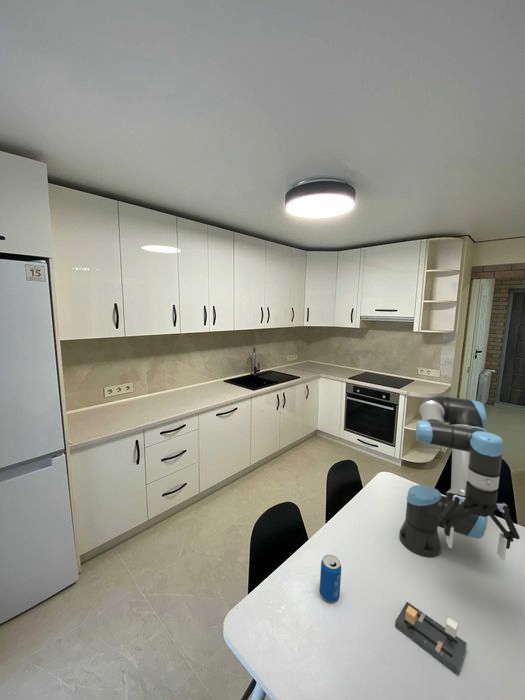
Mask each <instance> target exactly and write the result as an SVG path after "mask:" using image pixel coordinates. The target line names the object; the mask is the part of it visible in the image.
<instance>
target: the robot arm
mask: <svg viewBox="0 0 525 700" xmlns="http://www.w3.org/2000/svg"><path fill="white" fill-rule="evenodd" d="M418 408H419V415H420V416H421V419H420V420H418V421H416V430H415V440H416V441H417V442H418V443H419V442H420V443H425V444H426V445H432V446H438V447H444V448H448V449H452V452H451V475H450V476H451V477H450V479H451V480H450V481H451V483H450V489H448V491H446V495H445V496H444V495H442V494H441V492H440V490H438V489H437V488H435V487H433V486H430V485H425V484H417V485H412V486H411V487H410V488H409V489H408V491H407V496H406V507H405V508H406V509H405V520H404V522H403V523H402V525H401V527H400V529H399V536H398V537H399V540H400V542H401V544H402V545H403V546H404V547H405V548H406V549H407V550H409V551H410V552H412V553H413V554H416V555H418V556H421V557H426V558H434V557H437V556H439V555H440V553H441V550H442V549H441V548H442V544H441V539H440V537H439V532H438V527H439V528H441V529H443V533H444V535H445V536H446V540H445V541H446V544H447V546H448V549H452V548H453V540H454V539H453V538H454V533H457V534H460V535H462V536H465V537H470V538H473V539H482V538H483V537H484V535H485V533H486V529H487V525H488V517H489V518H490V519H491V520H492V521H493V522H494V523H495V525H496V526H497V528H498V529H499V530H500V531H501V532H499V537H498V542H497V543H498V544H497V550H496V551H497V553H496V554H497V555H498V556H499V558H500V560H501V561H505V560H506V553H507V550H509V549H510V548H511V543H512V542H514V539H516V540H520V534H519V533H518V530H517V528H516V526H515V524H514V522H513V520H512V517H511V515H510V508H509V506H508V505H507V504H506V503H505V502H504V501H502V502H499V503H498V502H497V500H498V495H499V493H498V489H499V484H500V474H501V467H502V459H503V453H504V451H505V449H504V439H502V437H501V436H499V435H497V434H495V433H493V432H488V431H487V430H486V428H487V423H488V420H487V419H488V418H487V412H486V408H485V405H484V404H483V403H482V402H481V401H478V400H473V399H466V398H459V397H451V396H445V395H443V396H442V395H441V396H440V395H437V396H432V397H429V398H426V399H424V400H423V401H422V402H421V404H420V405H419V407H418ZM446 423H448V424H446ZM497 510H498V511H499V512H501V515H502V516H503V519H504V521H505V523H506V526H507V528H508V529H509V531H508V530H507V529H506V527H504V525H503V524H502V523H501V521H500V520H499V519H498V518H497V516H496V515H495V514H494V512H496V511H497Z"/></svg>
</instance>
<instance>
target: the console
mask: <svg viewBox="0 0 525 700" xmlns="http://www.w3.org/2000/svg"><path fill="white" fill-rule="evenodd" d="M408 606H410V607H412V608H413V609H414V610H416V611H417V620H416V622H415V624H414V625H412V627H410V626H409V625H408V621H407V620H406V619H405V614H406V610H407V608H408ZM394 622H395V623H394V628H396V629H397V630H398V631H399V632H401V633H402V634H404V635H405V636H406V637H407V638H409V639H410V640H411V641H412V642H414V643H415V644H417V646H419V647H420V648H421V649H423V650H424V651H426V652H427V653H428V654H429V655H430V656H432V657H433V658H434V659H435V660H437V661H438V662H439V663H440V664H442V665H443V666H444V667H446V668H447V669H449V671H451V672H453V673H454V674H455V675H456V676H459V672H460V670H461V667H462V663H463V660H464V657H465V653H466V651H467V646H468V645H467V642H466V641H465V640H463V639H462V638H460V637H459V636H458V635H456V636H455V638H454V637H453V639H452V640H451V639H449V638H448V633H447V632H445V627H444V626H443V625H442V624H440V623H439V622H437V621H436V620H434V619H433V618H431V617H430V616H429V615H427V614H425V613H424V612H423V611H422V610H420V609H419V608H417V607H416V606H414V604H413V605H412V604H411V603H410V602H409V601H406V602H405V604H404V605H403V608H402V609H401V611H400V612H399V614H398V615H397V618H396V619H395V621H394Z"/></svg>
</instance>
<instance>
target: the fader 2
mask: <svg viewBox="0 0 525 700" xmlns="http://www.w3.org/2000/svg"><path fill="white" fill-rule="evenodd" d="M444 628H445V632H447V633H448V638H449V639H451V640H452V639H453V637H454V638H455V636H457V633H458V628H459V624H458V623H457V622H456V621H455V620H453V619H452V618H450V617H449V616H448V618H447V620H446V621H445V627H444Z"/></svg>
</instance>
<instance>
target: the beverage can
mask: <svg viewBox="0 0 525 700" xmlns="http://www.w3.org/2000/svg"><path fill="white" fill-rule="evenodd" d="M322 557H323V558H322V559H321V561H320V579H319V594H320V595H321V597H322V599H324V600H325V601H327V602H330V603H334V602H337V601H338V600H339V599H340V594H341V593H340V591H341V579H342V577H341V576H342V564H341V561H340V559H339V558H338V557H337V556H336V555H334V554H330V553H329V554H326V555H323V556H322Z"/></svg>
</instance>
